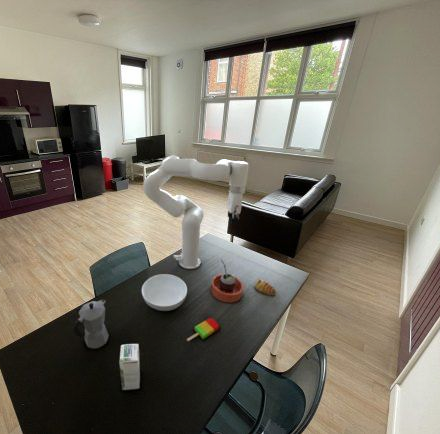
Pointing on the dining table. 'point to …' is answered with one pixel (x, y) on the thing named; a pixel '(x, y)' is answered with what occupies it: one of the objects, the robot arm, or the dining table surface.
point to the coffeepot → (92, 324)
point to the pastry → (264, 287)
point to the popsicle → (205, 329)
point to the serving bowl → (164, 292)
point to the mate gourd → (227, 281)
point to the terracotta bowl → (229, 295)
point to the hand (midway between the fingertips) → (232, 221)
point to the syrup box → (130, 366)
